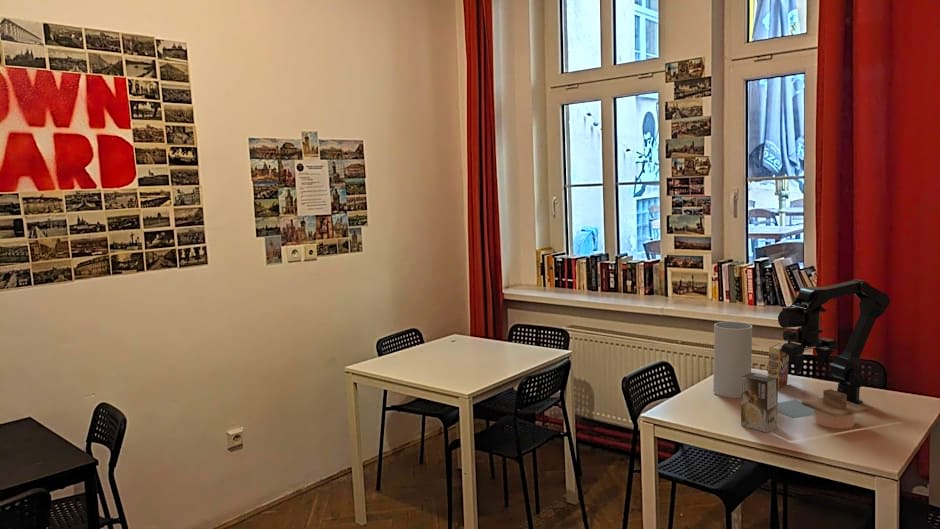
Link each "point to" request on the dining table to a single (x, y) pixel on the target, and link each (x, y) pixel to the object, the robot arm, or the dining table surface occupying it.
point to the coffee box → (759, 401)
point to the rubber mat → (794, 409)
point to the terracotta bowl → (834, 420)
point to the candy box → (778, 364)
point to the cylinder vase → (731, 357)
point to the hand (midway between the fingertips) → (808, 371)
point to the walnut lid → (834, 404)
